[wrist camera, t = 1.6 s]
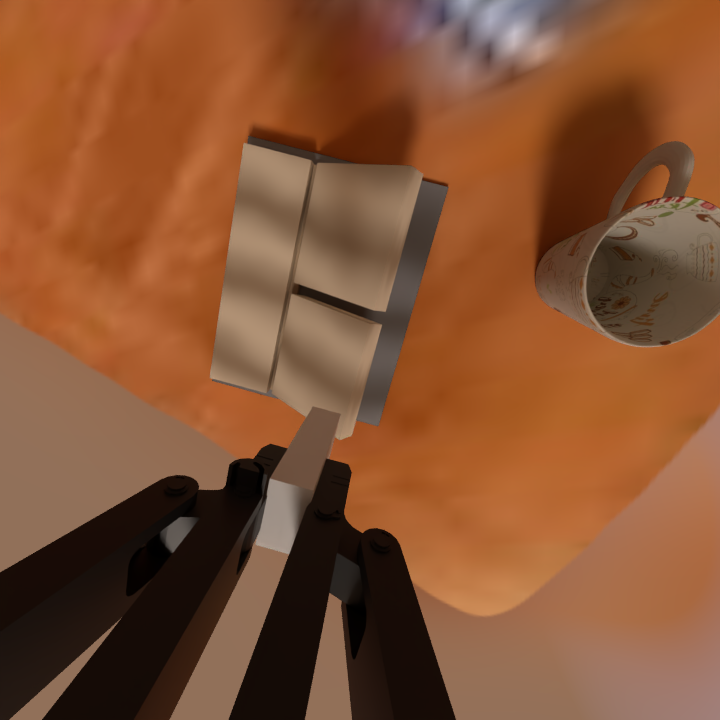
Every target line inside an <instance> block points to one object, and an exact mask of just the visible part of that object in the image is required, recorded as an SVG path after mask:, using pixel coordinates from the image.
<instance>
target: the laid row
mask: <svg viewBox="0 0 720 720" xmlns="http://www.w3.org/2000/svg"><path fill="white" fill-rule="evenodd" d="M317 163H343V164H356V163H353V162H349V161H345V160H341V159H337V158H333V157H329V156H325V155H321V154H318V153H314V152H310V151H306V150H302V149H298V148H294V147H290V146H286V145H282V144H279V143H275V142H271V141H267V140H263V139H259V138H255V137H251V136H248V143H247V144H246V143H244V146H243V153H242V159H241V166H240V173H239V180H238V187H237V194H236V201H235V207H234V214H233V221H232V228H231V235H230V242H229V249H228V255H227V262H226V269H225V276H224V283H223V290H222V297H221V304H220V310H219V317H218V324H217V331H216V338H215V345H214V352H213V358H212V365H211V372H210V378H212V381H215V382H219V383H222V384H226V385H230V386H233V387H237V388H241V389H244V390H248V391H251V392H255V393H259V394H262V395H266V396H270V397H273V398H277V397H276V396H275V395H273V394H272V389H273V384H274V379H275V374H276V369H277V364H278V359H279V354H280V349H281V344H282V339H283V334H284V329H285V324H286V319H287V314H288V309H289V304H290V299H291V294H297V295H304V296H307V297H310V298H312V299H315V300H318V301H320V302H323V303H326V304H328V305H331V306H334V307H336V308H339V309H342V310H344V311H347V312H350V313H352V314H355V315H358V316H360V317H363V318H366V319H368V320H371V321H374V322H376V323H379V324H382V327H381V331H380V334H379V338H378V342H377V345H376V349H375V353H374V356H373V360H372V364H371V367H370V371H369V375H368V378H367V382H366V386H365V389H364V393H363V396H362V400H361V404H360V407H359V411H358V415H357V418H356V420H357V421H361V422H365V423H368V424H372V425H376V426H378V425H379V422H380V419H381V415H382V412H383V408H384V405H385V402H386V398H387V395H388V391H389V388H390V384H391V381H392V378H393V374H394V371H395V367H396V364H397V361H398V357H399V354H400V350H401V347H402V344H403V340H404V337H405V333H406V330H407V327H408V323H409V320H410V316H411V313H412V310H413V306H414V303H415V299H416V296H417V293H418V289H419V286H420V282H421V279H422V276H423V272H424V269H425V265H426V262H427V259H428V255H429V252H430V248H431V245H432V242H433V238H434V235H435V231H436V228H437V224H438V221H439V218H440V214H441V211H442V207H443V204H444V201H445V197H446V194H447V190H448V187H446V186H442V185H438V184H434V183H430V182H427V181H423V180H422V181H421V185H420V188H419V192H418V195H417V199H416V203H415V206H414V210H413V214H412V217H411V221H410V225H409V228H408V232H407V236H406V239H405V243H404V247H403V250H402V254H401V258H400V261H399V265H398V269H397V272H396V276H395V280H394V283H393V287H392V291H391V294H390V298H389V301H388V305H387V309H386V312H383V311H374V310H371V309H368V308H365V307H363V306H360V305H357V304H354V303H351V302H348V301H345V300H343V299H340V298H337V297H334V296H331V295H328V294H326V293H323V292H320V291H317V290H314V289H311V288H308V287H306V286H303V285H300V284H297V283H294V278H295V273H296V268H297V263H298V258H299V253H300V248H301V243H302V238H303V233H304V228H305V223H306V218H307V213H308V208H309V203H310V198H311V193H312V188H313V183H314V178H315V173H316V168H317ZM277 399H279V398H277Z"/></svg>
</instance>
